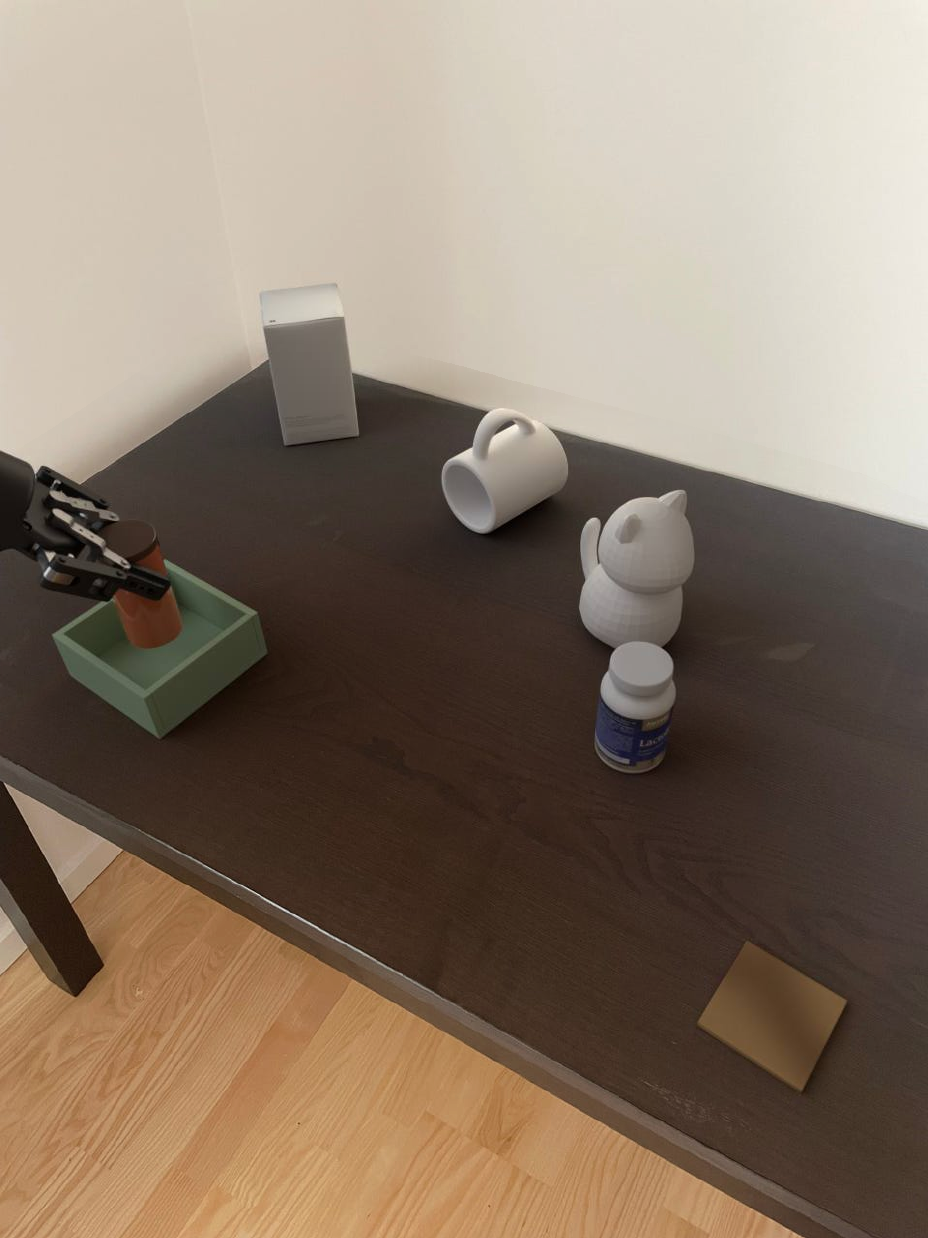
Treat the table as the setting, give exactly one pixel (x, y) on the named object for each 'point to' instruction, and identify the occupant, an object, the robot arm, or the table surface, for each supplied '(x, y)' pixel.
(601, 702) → the pill bottle
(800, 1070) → the coaster
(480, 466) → the mug
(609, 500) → the table surface
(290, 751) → the table surface
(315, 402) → the rectangular carton
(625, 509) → the cat figurine
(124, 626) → the spice jar
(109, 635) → the crate
